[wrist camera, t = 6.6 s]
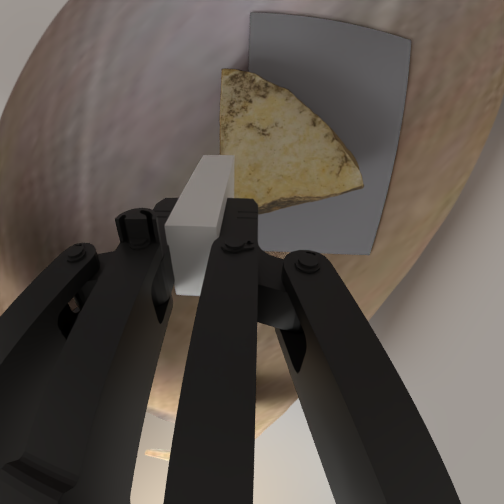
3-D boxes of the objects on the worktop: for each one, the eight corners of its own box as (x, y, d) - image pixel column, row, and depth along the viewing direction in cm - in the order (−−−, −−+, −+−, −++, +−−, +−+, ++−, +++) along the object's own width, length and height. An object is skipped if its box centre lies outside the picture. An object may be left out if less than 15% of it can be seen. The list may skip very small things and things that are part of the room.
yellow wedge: (260, 26, 13) (312, 180, 13) (333, 71, 19) (375, 188, 19) (164, 112, 21) (185, 232, 20) (241, 125, 27) (265, 222, 26)
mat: (243, 248, 27) (243, 250, 26) (250, 13, 15) (250, 12, 15) (368, 253, 27) (369, 255, 26) (409, 40, 15) (411, 40, 15)
